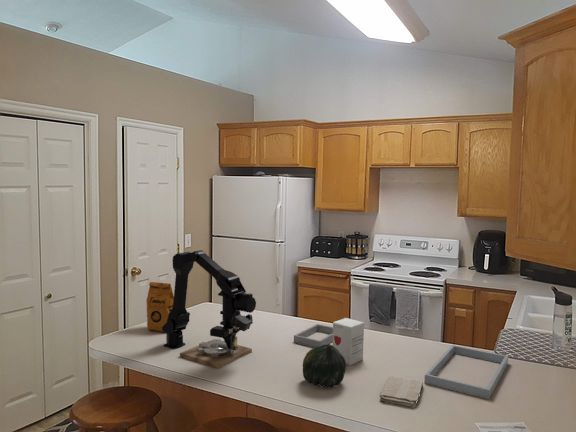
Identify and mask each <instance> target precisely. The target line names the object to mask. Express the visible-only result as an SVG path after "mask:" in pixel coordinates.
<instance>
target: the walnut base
mask: <svg viewBox="0 0 576 432" xmlns="http://www.w3.org/2000/svg"><path fill="white" fill-rule="evenodd" d="M215 339H216V338H213V339H211V340H209V341H215ZM209 341H207V342H209ZM237 347H238V349H237V350H234V353H233V354H231V355H229V354H226V355H222V356H218V358H212V356H207V355H199V354H198V348H199V344H198V345H196V346H194V347H191V348H189V349H186V350H184V351H181V352H179V357H180V358H182V359H186V360H190V361H193V362H195V363H198V364H203V365H205V364H206V366H209V367H213V368H215V369H221V368H222V367H225V366H226V365H228V364H230V363H233V362H234V361H235V362H236V361H237V360H239V359H241V358H243V357H245V356H247V355H249V354H251V353H253V348H251V347H247V346H243V345H241V344H237Z"/></svg>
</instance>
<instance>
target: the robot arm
mask: <svg viewBox="0 0 576 432" xmlns="http://www.w3.org/2000/svg"><path fill="white" fill-rule="evenodd" d="M195 263H196V264H197V265H199V266H200V267H201V268H202V269H203V270H204V271H206V272H207V273H208V274H209V275H210V276H211V277H212V278H214V280H215V281H216V282H215V283H216V285H217V286H218V287H219V289H220V290H221V291H219V293H217V296H219V297H222V309H221V311H220V312H219V314H220V315H222V316H221V318H222V320H221V321H220V322H219V324H220V325H216V326H214V327H212V328H211V329H210V330H209V336H210V337H215V338H219V339H220V338H222V339H223V341H225V343H226V345H227V347H228V348H229V349H231V348H232V345H233V342H234V339H235V336H237V334H238V333H239V332H240V331H241V332H246V331H248V330H250V328H251V325H252V324H253V323H254V322H253V321H254V319H253V315H252V314H251V313H253V312H254V311H255V309H256V306H257V301H256V298H254V297H253V293H247V291H246V289H245V287H244V285H243V284H242V281H241V278H240V276H239V275H238V274H235V273H234V272H233V271H229V270H226V269H224V268H223V267H222V266H221V265H219V263H217V262H216V261H215V260H213V259H212V258H211V257H210V256H209V255H208V254H207V253H206V252H205V251H204V250H201V249H200V250H194V251H192V252H191V251H184V252H179V253H178V252H177V253H175V254H174V255H173V256H172V269H173V271H174V273H175V278H174V279H175V281H174V292H173V296H174V301H173V308H172V310H171V311H170V313H169V315H168V319H167V322H166V323H165V325H164V326H163V327H162V330H163V332H162V333H163V334H166V339H165V340H166V343H164V344H163V347H167V348H170V349H174V350H175V349H178V348H181V347H182V346H185V345H186V343H185V342H184V335H183V330H186V329H187V326H188V325H189V322H190V316H191V312H188V311H187V310H188V309H186V304H187V303H186V302H187V292H188V291H187V290H188V281H189V275H190V272H191V271H192V269H193V267H194V264H195ZM241 312H245V313H248V314H246V315H242V314H241Z"/></svg>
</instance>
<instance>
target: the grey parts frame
mask: <svg viewBox="0 0 576 432" xmlns="http://www.w3.org/2000/svg"><path fill="white" fill-rule="evenodd" d="M317 332H319V333H325V334H328V335H327V336H325V337H323V338H322V339H315V338H310V337H309V336H311V335H314V334H315V333H317ZM293 343H295V344H300V345H303V346H308V347H312V348H316V347H319V346H322V345H328V344H329V345H330V344H331V343H333V326H329V325H324V324H319V323H316V324H314V325H312V326H310V327H308V328H306V329H304V330H302V331H301V332H299V333H296V334H295V335H293Z"/></svg>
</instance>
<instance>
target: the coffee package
mask: <svg viewBox="0 0 576 432" xmlns="http://www.w3.org/2000/svg"><path fill="white" fill-rule="evenodd" d="M148 285H149V288H148V292H147V297H146V318H147V320H146V325H147V327H146V330H149V331H157V332H161V333H163V330H162V327H163V326H164V325H165V323H166V322H167V319H168V315H169V313H170V311H171V310H172V308H173V301H174V292H173V288H172V284H171V283H168V282H166V283H164V282H157V281H155V282H154V281H150V282H149V284H148Z"/></svg>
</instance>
